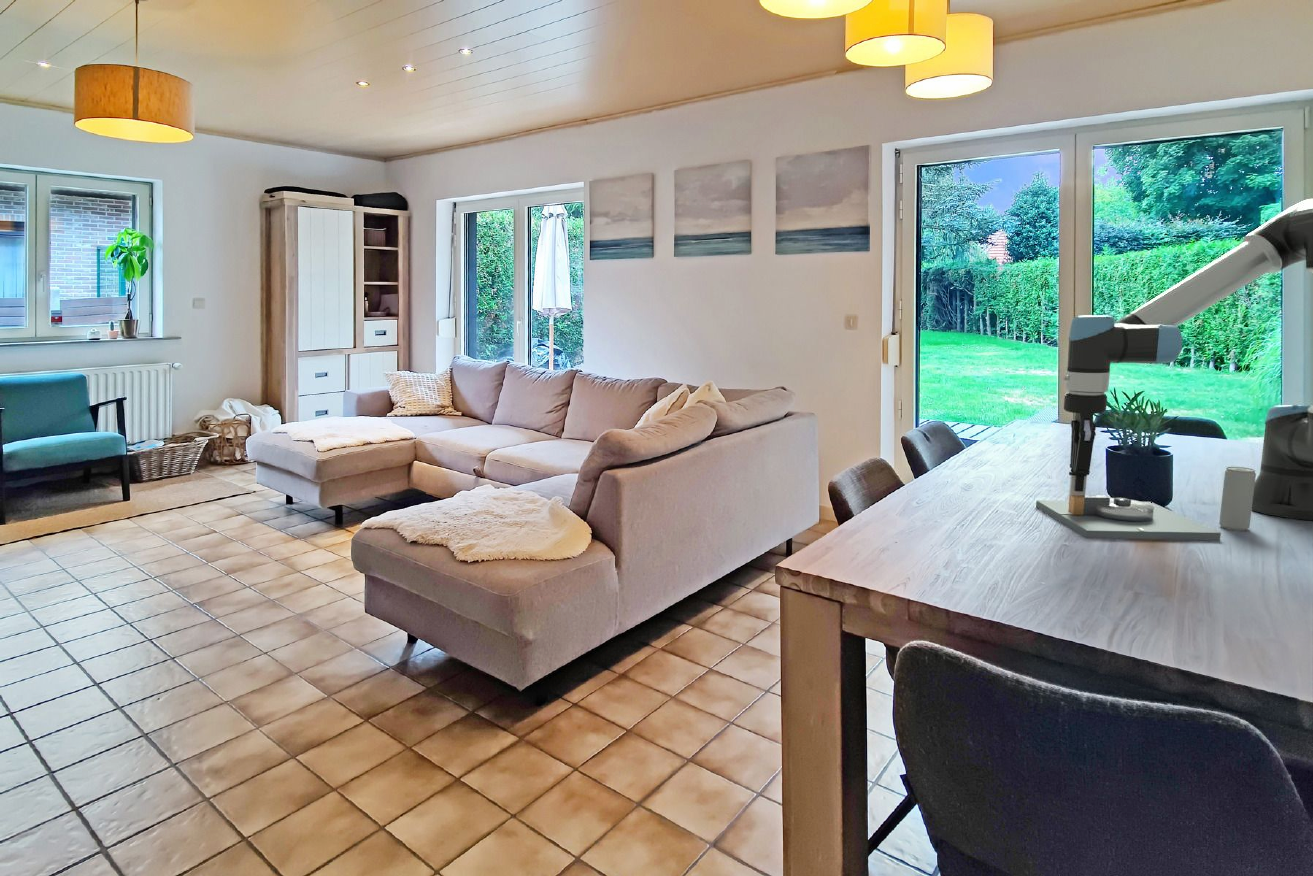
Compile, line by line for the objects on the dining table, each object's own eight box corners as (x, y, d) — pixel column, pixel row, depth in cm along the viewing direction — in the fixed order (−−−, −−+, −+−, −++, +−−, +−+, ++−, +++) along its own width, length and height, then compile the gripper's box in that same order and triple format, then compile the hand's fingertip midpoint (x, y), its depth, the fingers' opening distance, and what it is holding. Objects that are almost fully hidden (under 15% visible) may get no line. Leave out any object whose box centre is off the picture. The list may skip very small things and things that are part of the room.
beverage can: (1254, 532, 147) (1261, 471, 145) (1226, 530, 148) (1233, 471, 146) (1240, 525, 152) (1247, 466, 150) (1213, 524, 153) (1220, 466, 151)
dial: (1134, 507, 160) (1135, 490, 159) (1165, 521, 149) (1166, 503, 148) (1058, 506, 161) (1059, 490, 160) (1083, 520, 150) (1085, 502, 149)
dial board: (1149, 508, 165) (1150, 500, 165) (1220, 540, 142) (1221, 531, 142) (1035, 506, 168) (1036, 498, 167) (1085, 538, 144) (1086, 529, 144)
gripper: (1060, 388, 160) (1052, 496, 164) (1069, 395, 148) (1060, 511, 152) (1101, 389, 157) (1091, 499, 161) (1113, 397, 145) (1102, 515, 150)
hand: (1076, 505), depth 157 cm, fingers closed
